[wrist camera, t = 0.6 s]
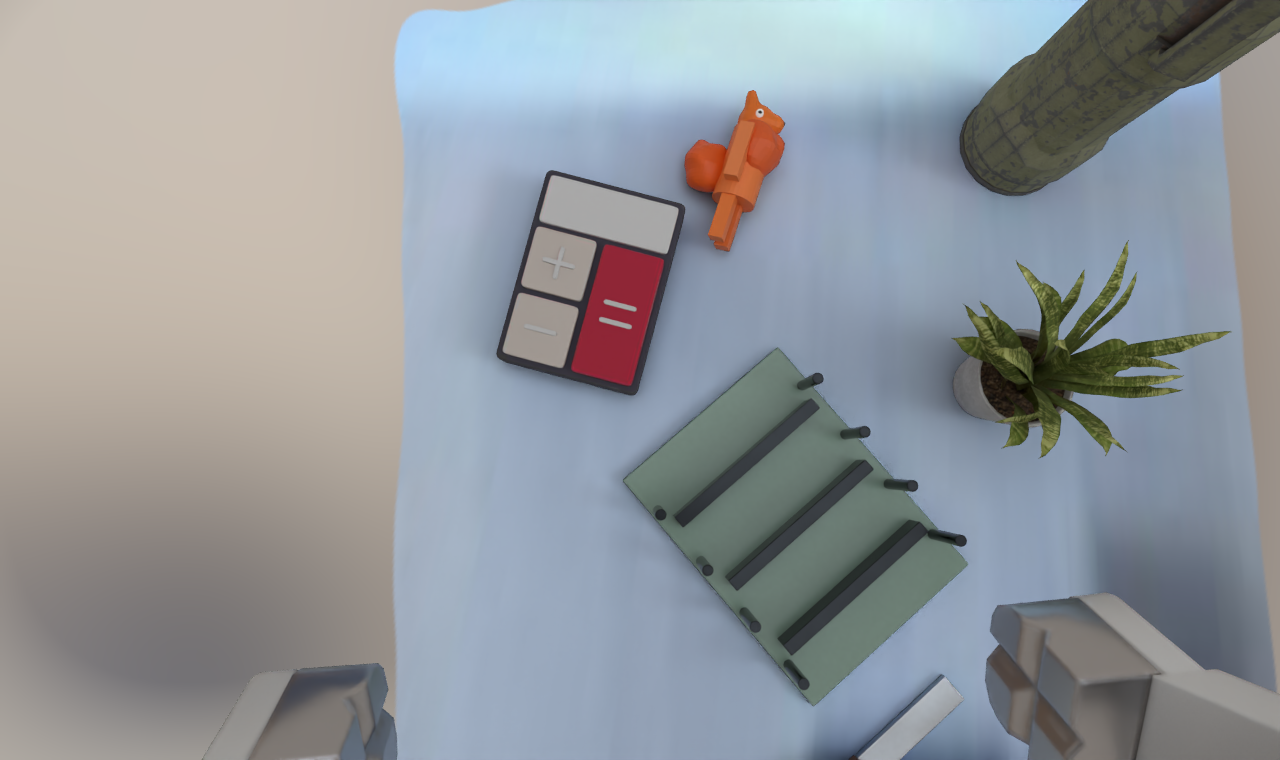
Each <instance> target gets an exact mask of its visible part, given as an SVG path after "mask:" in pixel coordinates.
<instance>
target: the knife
mask: <svg viewBox="0 0 1280 760" xmlns="http://www.w3.org/2000/svg"><path fill="white" fill-rule="evenodd" d="M963 700H964V698H963V697H962V695H961V694H960V693H959V692H958V691H957V690H956V689H955V687H954V686H953V685H952V684H951V683H950V682H949V680H948V679H947V678H946V677H945V676H943V675H941V676H940V677H939V678H938V679H937V680H936V681H935V682H934V683H932V684H931V685H930V686H929V687H928V688H927V689H926V690H925V691H924V692H923V693H922V694H921V695H920V696H918V697H917V698H916V699H915V700H914V701H913V702H912V703H911V704H910V705H909V706H908V707H907V708H906V709H905V710H903V711H902V712H901V713H900V714H899V715H898V716H897V717H896V718H895V719H894V720H893V721H892V722H891V723H889V724H888V725H887V726H886V727H885V728H884V729H883V730H882V731H881V732H880V733H879V734H878V735H877V736H876V737H874V738H873V739H872V740H871V741H870V742H869V743H868V744H867V745H866V746H865V747H864V748H863V749H862V750H860V751H859V752H858V753H857V754H856V755H855V756H854V755H853V756H852V757H851V758H850V759H849V760H900V759H901V758H903V757H904V756H905V755H906V754H907V753H908V752H909V751H910V750H911V749H912V748H913V747H914V746H915V745H916V744H917V743H919V742H920V741H921V740H922V739H923V738H924V737H925V736H926V735H927V734H928V733H929V732H930V731H931V730H932V729H933V728H935V727H936V726H937V725H938V724H939V723H940V722H941V721H942V720H943V719H944V718H945V717H946V716H947V715H948V714H949V713H951V712H952V711H953V710H954V709H955V708H956V707H957V706H958V705H959V704H960V703H961V702H962V701H963Z"/></svg>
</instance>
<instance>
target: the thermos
mask: <svg viewBox="0 0 1280 760" xmlns="http://www.w3.org/2000/svg"><path fill="white" fill-rule="evenodd" d="M1279 32H1280V0H1088V1H1087V2H1086V3H1085V4H1084V5H1083V6H1082V7H1081V8H1080V9H1079V10H1078V11H1077V12H1076V13H1075V14H1074V15H1073V16H1072V17H1071V18H1070V19H1069V20H1068V21H1067V22H1066V23H1065V24H1064V25H1063V26H1062V27H1061V28H1060V29H1059V30H1058V31H1057V32H1056V33H1055V34H1054V35H1053V36H1052V37H1051V38H1050V39H1049V40H1048V41H1047V42H1046V43H1045V44H1044V45H1043V46H1042V47H1041V48H1040V49H1039V50H1038V51H1037V52H1036V53H1035V54H1032V55H1029V56H1026V57H1025V58H1023V59H1022V60H1020V61H1019V62H1018V63H1016V64H1015V65H1014V66H1012V67H1011V68H1010V69H1009V70H1008V71H1007V72H1006V73H1005V74H1004V75H1003V76H1002V77H1001V78H1000V79H999V80H998V81H997V82H996V84H995V85H994V86H993V87H992V88H991V89H990V90H989V91H988V92H987V93H986V94H985V96H984V97H983V98H982V100H981V101H980V103H979V104H978V105H977V106H976V107H975V108H974V109H973V110H972V112H971V113H970V115H969V116H968V117H967V119H966V120H965V122H964V124H963V127H962V131H961V134H960V153H961V156H962V158H963V161H964V163H965V166H966V168H967V170H968V171H969V172H970V173H971V175H972V176H973V177H974V178H975V180H976V181H977V182H979V183H980V184H982V185H983V186H985V187H986V188H988V189H989V190H991V191H994V192H997V193H1000V194H1003V195H1026V194H1029V193H1032V192H1035V191H1038V190H1040V189H1041V188H1043V187H1044V186H1045V185H1047V184H1048V183H1050V182H1053V181H1057V180H1058V179H1060V178H1061V177H1063V176H1065V175H1066V174H1068V173H1069V172H1071V171H1072V170H1074V169H1075V168H1077V167H1078V166H1080V165H1081V164H1083V163H1084V162H1086V161H1087V160H1089V159H1090V158H1091V157H1093V156H1094V155H1095V154H1097V153H1098V152H1099V151H1101V150H1102V149H1103V147H1104V145H1105V144H1106V142H1107V140H1108V138H1109V136H1111V135H1112V134H1114V133H1115V132H1117V131H1118V130H1120V129H1121V128H1123V127H1124V126H1125V125H1127V124H1128V123H1130V122H1131V121H1133V120H1134V119H1136V118H1137V117H1139V116H1140V115H1142V114H1143V113H1145V112H1146V111H1148V110H1149V109H1150V108H1152V107H1153V106H1155V105H1156V104H1158V103H1159V102H1161V101H1162V100H1164V99H1165V98H1167V97H1168V96H1170V95H1171V94H1173V93H1174V92H1176V91H1177V90H1178V89H1181V88H1185V87H1189V86H1192V85H1195V84H1198V83H1201V82H1204V81H1206V80H1208V79H1209V78H1211V77H1212V76H1214V75H1215V74H1217V73H1218V72H1220V71H1221V70H1223V69H1224V68H1226V67H1227V66H1229V65H1230V64H1232V63H1233V62H1235V61H1236V60H1238V59H1239V58H1241V57H1242V56H1244V55H1245V54H1247V53H1248V52H1250V51H1251V50H1253V49H1254V48H1256V47H1257V46H1259V45H1260V44H1262V43H1263V42H1265V41H1266V40H1268V39H1269V38H1271V37H1272V36H1274V35H1276V34H1277V33H1279Z"/></svg>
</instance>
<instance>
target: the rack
mask: <svg viewBox="0 0 1280 760" xmlns="http://www.w3.org/2000/svg"><path fill="white" fill-rule="evenodd" d="M822 382H823V376H822V374H820V373H815V374H813V375H811V376H809V377H807V378H805V377H804V376H803V375H802V374H801V373H800V372H799V371H798V369H797V368H796V367H795V366H794V365H793V364H792V363H791V362H790V360H789V359H788V358H787V357H786V356H785V355H784V354H783V352H782V351H781V350H780V349H779V348H776V349H775V350H774V351H772V352H771V353H770V354H769V355H768V356H767V357H765V358H764V359H763V360H762V361H761V362H760V363H758V364H757V365H756V366H755V367H754V368H753V369H751V370H750V371H749V372H748V373H747V374H746V375H744V376H743V377H742V378H741V379H740V380H739V381H737V382H736V383H735V384H734V385H733V386H732V387H731V388H729V389H728V390H727V391H726V392H725V393H724V394H722V395H721V396H720V397H719V398H718V399H717V400H715V401H714V402H713V403H712V404H711V405H710V406H708V407H707V408H706V409H705V410H704V411H703V412H701V413H700V414H699V415H698V416H697V417H696V418H694V419H693V420H692V421H691V422H690V423H689V424H687V425H686V426H685V427H684V428H683V429H682V430H680V431H679V432H678V433H677V434H676V435H675V436H673V437H672V438H671V439H670V440H669V441H668V442H666V443H665V444H664V445H663V446H662V447H661V448H659V449H658V450H657V451H656V452H655V453H654V454H652V455H651V456H650V457H649V458H648V459H647V460H646V461H644V462H643V463H642V464H641V465H640V466H639V467H637V468H636V469H635V470H634V471H633V472H632V473H630V474H629V475H628V476H627V477H626V478H625V479H623V482H624V483H625V484H626V485H627V486H628V488H629V489H630V490H631V491H632V492H633V494H634V495H635V496H636V497H637V498H638V499H639V501H640V502H641V503H642V504H643V505H644V507H645V508H646V509H647V510H648V511H649V512H650V514H651V515H652V516H653V517H654V518H655V520H656V521H657V522H658V523H659V524H660V526H661V527H662V528H663V529H664V530H665V531H666V533H667V534H668V535H669V536H670V537H671V539H672V540H673V541H674V542H675V543H676V544H677V546H678V547H679V548H680V549H681V550H682V552H683V553H684V554H685V555H686V556H687V558H688V559H689V560H690V561H691V562H692V563H693V565H694V566H695V567H696V568H697V569H698V571H699V572H700V573H701V574H702V575H703V576H704V578H705V579H706V580H707V581H708V582H709V584H710V585H711V586H712V587H713V588H714V590H715V591H716V592H717V593H718V594H719V595H720V597H721V598H722V599H723V600H724V601H725V603H726V604H727V605H728V606H729V607H730V608H731V610H732V611H733V612H734V613H735V614H736V616H737V617H738V618H739V619H740V620H741V622H742V623H743V624H744V625H745V626H746V627H747V629H748V630H749V631H750V632H751V633H752V635H753V636H754V637H755V638H756V639H757V640H758V642H759V643H760V644H761V645H762V646H763V648H764V649H765V650H766V651H767V652H768V654H769V655H770V656H771V657H772V658H773V659H774V661H775V662H776V663H777V664H778V665H779V667H780V668H781V669H782V670H783V671H784V672H785V674H786V675H787V676H788V677H789V678H790V680H791V681H792V682H793V683H794V684H795V686H796V687H797V688H798V689H799V690H800V691H801V693H802V694H803V695H804V696H805V697H806V699H807V700H808V701H809V702H810V703H811V704H812V706H815V705H816V704H817V703H818V702H819V701H820V700H821V699H822V698H823V697H825V696H826V695H827V694H828V693H829V692H830V691H831V690H832V689H833V688H834V687H835V686H837V685H838V684H839V683H840V682H841V681H842V680H843V679H844V678H845V677H846V676H847V675H849V674H850V673H851V672H852V671H853V670H854V669H855V668H856V667H857V666H858V665H859V664H861V663H862V662H863V661H864V660H865V659H866V658H867V657H868V656H869V655H870V654H871V653H873V652H874V651H875V650H876V649H877V648H878V647H879V646H880V645H881V644H882V643H883V642H885V641H886V640H887V639H888V638H889V637H890V636H891V635H892V634H893V633H894V632H895V631H896V630H898V629H899V628H900V627H901V626H902V625H903V624H904V623H905V622H906V621H907V620H908V619H910V618H911V617H912V616H913V615H914V614H915V613H916V612H917V611H918V610H919V609H920V608H922V607H923V606H924V605H925V604H926V603H927V602H928V601H929V600H930V599H931V598H932V597H934V596H935V595H936V594H937V593H938V592H939V591H940V590H941V589H942V588H943V587H944V586H946V585H947V584H948V583H949V582H950V581H951V580H952V579H953V578H954V577H955V576H956V575H958V574H959V573H960V572H961V571H962V570H963V569H964V568H965V567H966V566H967V565H968V563H967V562H966V561H965V559H964V558H963V557H962V556H961V555H960V554H959V553H958V551H957V550H956V549H955V548H954V547H953V546H952V545H956V546H961V547H962V546H964V545H965V544H966V542H967V540H966V537H965V536H963V535H959V534H955V533H950V532H945V531H941V530H938V529H937V528H936V526H935V525H934V524H933V523H932V522H931V521H930V520H929V518H928V517H927V516H926V515H925V514H924V513H923V512H922V510H921V509H920V508H919V507H918V506H917V505H916V504H915V503H914V501H913V500H912V499H911V498H910V497H909V496H908V495H907V493H906V492H905V491H912V492H913V491H916V490H917V489H918V483H917V482H916V481H914V480H902V479H893V478H892V476H891V475H890V474H889V473H888V472H887V471H886V470H885V468H884V467H883V466H882V465H881V464H880V463H879V462H878V460H877V459H876V458H875V457H874V456H873V455H872V454H871V452H870V451H869V450H868V449H867V448H866V447H865V446H864V445H863V443H862V442H861V441H860V440H859V439H858V438H864V437H868V436H869V435H870V429H869V428H868V427H867V426H862V427H856V428H849V427H848V426H847V425H846V424H845V423H844V422H843V421H842V420H841V418H840V417H839V416H838V415H837V414H836V413H835V412H834V410H833V409H832V408H831V407H830V406H829V405H828V404H827V402H826V401H825V400H824V399H823V398H822V397H821V396H820V394H819V393H818V392H817V391H816V390H815V389H814V388H813V386H816V385H818V384H820V383H822ZM951 544H952V545H951Z"/></svg>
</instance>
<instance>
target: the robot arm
mask: <svg viewBox="0 0 1280 760" xmlns="http://www.w3.org/2000/svg"><path fill="white" fill-rule="evenodd" d="M990 632H991V634H992V635H993V636H994V638H995V639H996V640H997V642H998V643H999V645H998V646H997V648H996V649H995V650H994V651H993V652H992V654H991V655H990V656H989V657H988V658H987V662H986V675H985V682H986V687H987V692H988V696H989V701H990V704H991V706H992V708H993V710H994V712H995V715H996V717H997V719H998V720H999V721H1000V723H1001V724H1002V726H1003V727H1004V729H1005V730H1006V731H1007V733H1008V734H1010V735H1012V736H1014V737H1015V738H1017V739H1019V740H1021V741H1022V742H1024V743H1026V744H1028V745H1029V751H1028V760H1280V694H1278V693H1276V692H1273V691H1271V690H1268V689H1266V688H1263V687H1261V686H1258V685H1255V684H1253V683H1250V682H1248V681H1245V680H1243V679H1240V678H1238V677H1235V676H1233V675H1230V674H1228V673H1225V672H1223V671H1220V670H1218V669H1213V670H1204V669H1203V668H1202V667H1201V666H1200V665H1198V664H1197V663H1196V662H1195V661H1194V660H1192V659H1191V658H1190V657H1189V656H1188V655H1187V654H1185V653H1184V652H1183V651H1182V650H1181V649H1179V648H1178V647H1177V646H1176V645H1175V644H1173V643H1172V642H1171V641H1170V640H1169V639H1167V638H1166V637H1165V636H1164V635H1163V634H1162V633H1160V632H1159V631H1158V630H1157V629H1156V628H1154V627H1153V626H1152V625H1151V624H1150V623H1148V622H1147V621H1146V620H1145V619H1144V618H1143V617H1141V616H1140V615H1139V614H1138V613H1137V612H1135V611H1134V610H1133V609H1132V608H1131V607H1129V606H1128V605H1127V604H1126V603H1125V602H1123V601H1122V600H1121V599H1120V598H1119V597H1117V596H1114V595H1112V594H1109V593H1098V594H1089V595H1081V596H1073V597H1069V598H1068V599H1057V600H1047V601H1037V602H1027V603H1017V604H1007V605H998V606H997V607H996V609H995V611H994V613H993V615H992V620H991V627H990ZM387 692H388V686H387V681H386V677H385V672H384V668H382V666H381V665H379V664H378V663H375V664H374V663H373V664H360V665H345V666H332V667H318V668H304V669H300V670H295V669H294V670H284V671H271V672H260V673H259V674H257V675H256V676H254V677H252V678H251V679H250V681H249V682H248V684H247V686H246V687H245V689H244V690H243V692H242V694H241V695H240V697H239V699H238V700H237V702H236V704H235V705H234V707H233V709H232V710H231V712H230V714H229V715H228V717H227V719H226V720H225V722H224V724H223V725H222V727H221V728H220V730H219V732H218V734H217V735H216V737H215V739H214V740H213V742H212V743H211V745H210V747H209V748H208V750H207V752H206V753H205V755H204V757H203V758H202V760H397V734H396V728H395V722H394V718H393V717H392V716H391V715H390V714H389V713H387V712H386V711H385V710H384V709H383V708H382V707H383V704H384V701H385V698H386V695H387Z"/></svg>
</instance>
